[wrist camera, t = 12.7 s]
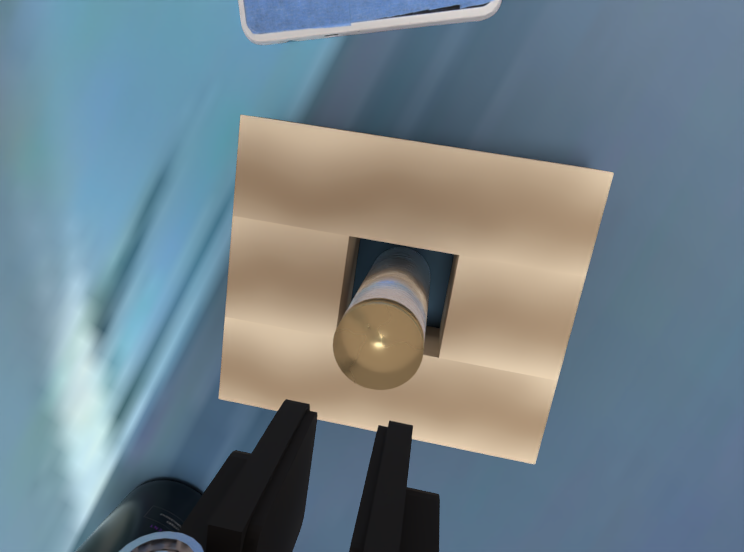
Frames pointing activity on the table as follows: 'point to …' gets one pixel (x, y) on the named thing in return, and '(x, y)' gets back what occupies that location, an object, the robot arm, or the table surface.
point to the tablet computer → (351, 17)
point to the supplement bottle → (143, 515)
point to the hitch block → (420, 230)
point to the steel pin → (386, 322)
